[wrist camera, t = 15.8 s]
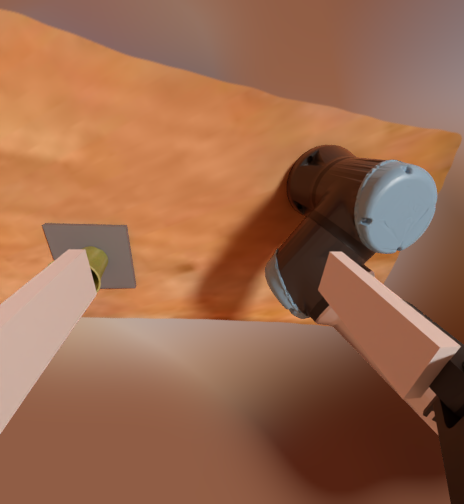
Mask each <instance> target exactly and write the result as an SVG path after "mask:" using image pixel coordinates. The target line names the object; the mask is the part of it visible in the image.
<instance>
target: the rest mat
mask: <svg viewBox="0 0 464 504" xmlns="http://www.w3.org/2000/svg"><path fill="white" fill-rule="evenodd" d="M42 226H43V229H44V232H45V235H46V238H47V241H48V244H49V247H50V250H51V252H52V255H53V258H54V260H56V259H57V258H58V257H60V256H61V255H62V254H63V253H65V252H66V251H67V250H68V249H82V248H84V247H88V246H93V247H96V248H98V249H101V250H103V251H104V252H105V253H106V255H107V257H108V264H107V267H106V269H105V271H104V273H103V275H102V277H101V287H100V289H105V288H135V287H136V281H135V274H134V268H133V261H132V255H131V249H130V242H129V236H128V229H127V225H95V224H52V223H45V224H43V225H42Z"/></svg>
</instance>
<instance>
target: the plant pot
mask: <svg viewBox="0 0 464 504" xmlns="http://www.w3.org/2000/svg"><path fill="white" fill-rule="evenodd" d="M82 249H85V250H86V254H87V257H88V261H89V265H90V269H91V273H92V277H93V280H94V284H95V288H96V292H98V291H99V289H100V287H101V277H102V275H103V273H104V271H105V269H106V267H107V264H108V257H107V255H106V253H105V252H104V251H103V250H101V249H98V248H96V247H93V246H88V247H84V248H82ZM54 261H55V260H54ZM54 261H52V262H54ZM52 262H51V263H52ZM51 263H50V264H51ZM50 264H49V265H50ZM49 265H48V266H49Z"/></svg>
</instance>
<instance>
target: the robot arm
mask: <svg viewBox="0 0 464 504" xmlns="http://www.w3.org/2000/svg"><path fill="white" fill-rule="evenodd" d="M287 194H288V198H289V201H290V203H291V205H292V206H293V207H294V208H295V209H296V210H297V211H298V212H299V213H301V214H302V215H304V216H306V218H305V219H304V220H303V221H302V223H301V224H300V225H299V226H298V227H297V228H296V229H295V231H294V232H293V233H292V234H291V235H290V236H289V237H288V239H287V240H286V241H285V242H284V243H283V244H282V245H281V246H280V248H278V249H277V250H276V251H275V254H274V255H273V257H272V258H271V259H270V260H269V262H268V263H267V265H266V267H265V277H266V280H267V283H268V285H269V287H270V289H271V291H272V292H273V294H274V295H275V297H276V298H277V299H278V300H279V302H280V303H281V304H282V305H283V306H284V307H285V308H286V309H289V310H290V312H291V313H292V314H293V315H294V316H296V317H298V318H301V319H305V318H309V317H311V318H312V319H313V320H314V321H315V322H316V323H317V324H322V325H329V326H332V327H334V328H335V329H336V330H337V331H338V332H339V333H340V334H341V335H342V336H343V338H344V339H345V340H346V341H347V342H348V343H349V344H350V345H351V346H352V347H353V348H354V349H355V350H356V351H357V352H358V353H359V354H360V355H361V356H362V357H363V358H364V359H365V360H366V361H367V362H368V363H369V364H370V365H371V366H372V367H373V368H374V369H375V371H376V372H377V373H378V374H379V375H380V376H381V377H382V378H383V379H385V381H386V382H387V383H388V384H389V385H390V386H391V387H392V388H393V389H394V390H395V391H396V392H397V393H398V394H399V395H400V396H401V398H402V399H404V400H405V401H406V402H407V404H409V406H411V408H412V409H413V410H414V411H415V412H416V413H418V415H419V416H420V417H421V418H422V419H423V420H424V421H425V422H426V423H427V424H428V425H429V426H430V427H431V428H432V429H433V430H434V431H435V432H436V433H437V434H438V435H439V441H440V446H441V452H442V457H443V462H444V468H445V473H446V479H447V484H448V490H449V495H450V501H451V504H464V345H463V344H462V343H461V342H459V341H458V340H457V339H456V338H454V337H453V336H452V335H450V334H449V333H448V332H447V331H445V330H444V329H443V328H441V327H440V326H439V325H438V324H436V323H435V322H432V320H431V319H430V318H429V317H427V316H426V315H423V313H422V312H421V311H420V310H418V309H417V308H416V307H415V306H413V305H412V304H410V303H408V302H406V301H405V300H403V299H401V298H399V297H398V296H397V295H396V294H395V293H393V292H392V291H391V290H389V289H388V288H387V287H386V286H384V285H383V284H382V283H381V282H379V281H378V280H377V279H376V278H375V276H374V272H373V271H371V270H370V269H369V268H367V267H366V266H365V265H364V263H365V262H366V261H367V260H368V259H369V258H371V257H372V256H373V255H374V254H375V253H376V252H377V253H384V254H391V253H395V252H396V250H398V251H401V250H404V249H405V248H407V247H409V246H410V245H412V244H413V243H414V242H415V241H417V239H419V238H420V237H421V235H422V234H423V233H424V232H425V230H426V229H427V227H428V226H429V224H430V222H431V220H432V218H433V215H434V213H435V209H436V208H435V204H436V201H437V189H436V185H435V182H434V180H433V178H432V177H431V175H430V174H429V173H428V172H427V171H426V170H424V169H423V168H421V167H419V166H416V165H412V164H407V163H403V162H401V161H398V160H377V159H366V158H356V157H355V156H354V155H353V154H352V153H351V152H350V151H348V150H347V149H345V148H343V147H340V146H336V145H322V146H318V147H315V148H312V149H310V150H309V151H307V152H306V153H304V154H303V155H302V156H301V157H300V158H299V159H298V160H297V161H296V163H295V164H294V166H293V167H292V169H291V172H290V174H289V177H288V181H287ZM96 295H97V292H96V288H95V284H94V280H93V277H92V273H91V269H90V265H89V261H88V257H87V254H86V250H85V249H68V250H67V251H66V252H65V253H63V254H62V255H61V256H60V257H58V258H57V259H56V260H55V261H54V262H52V263H51V264H50V265H49V266H47V267H46V268H45V269H44V270H42V271H41V272H40V273H39V274H37V275H36V276H35V277H34V278H32V279H31V280H30V281H29V282H28V283H26V284H25V285H24V286H23V287H21V288H20V289H19V290H18V291H16V292H15V293H14V294H13V295H11V296H10V297H9V298H8V299H6V300H5V301H4V302H3V303H1V304H0V434H1V432H2V431H3V429H4V428H5V426H6V425H7V423H8V422H9V421H10V419H11V418H12V416H13V415H14V413H15V412H16V410H17V409H18V407H19V406H20V405H21V403H22V402H23V400H24V399H25V398H26V396H27V395H28V393H29V392H30V390H31V389H32V387H33V386H34V384H35V383H36V382H37V380H38V378H39V377H40V376H41V374H42V373H43V371H44V370H45V368H46V367H47V365H48V364H49V363H50V361H51V360H52V358H53V357H54V356H55V354H56V353H57V351H58V350H59V348H60V347H61V345H62V344H63V343H64V341H65V340H66V338H67V337H68V335H69V334H70V332H71V331H72V329H73V328H74V327H75V325H76V324H77V322H78V320H79V319H80V318H81V316H82V315H83V314H84V312H85V311H86V309H87V308H88V306H89V305H90V303H91V302H92V301H93V299H94V298H95V296H96Z"/></svg>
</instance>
